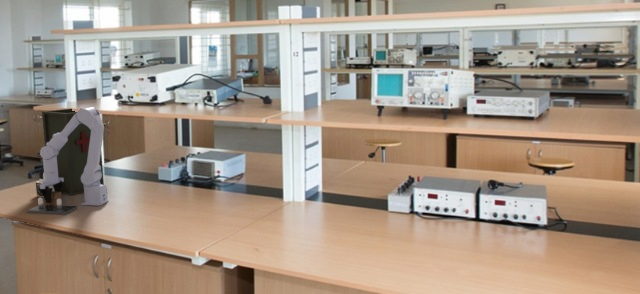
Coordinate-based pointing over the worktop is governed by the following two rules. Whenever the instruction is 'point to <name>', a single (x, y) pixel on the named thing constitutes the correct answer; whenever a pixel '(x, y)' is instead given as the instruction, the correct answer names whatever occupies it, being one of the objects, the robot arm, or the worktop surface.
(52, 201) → the sleeve
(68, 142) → the first aid box
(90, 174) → the robot arm
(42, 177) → the medicine bottle
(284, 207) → the worktop surface
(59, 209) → the pin board
